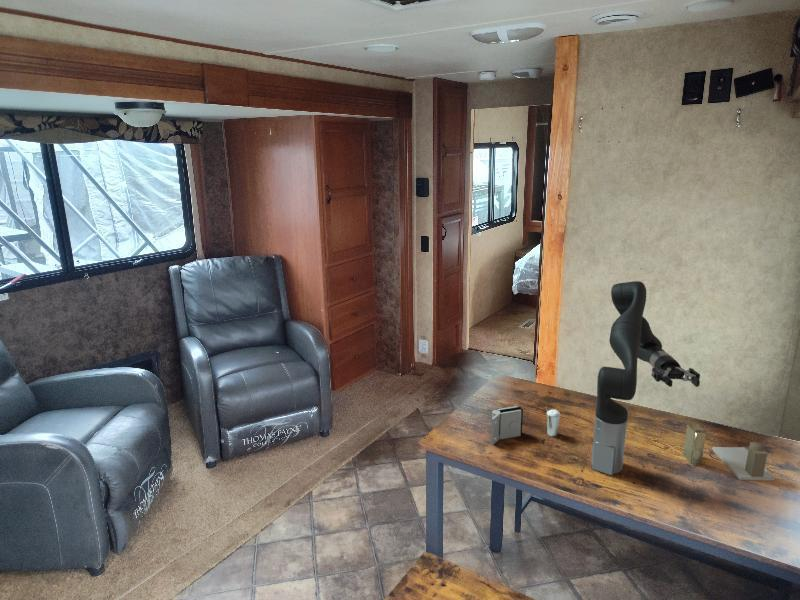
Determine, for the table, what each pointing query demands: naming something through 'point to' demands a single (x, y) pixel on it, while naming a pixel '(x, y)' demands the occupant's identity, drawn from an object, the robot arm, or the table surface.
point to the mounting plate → (745, 461)
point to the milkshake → (552, 422)
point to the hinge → (506, 423)
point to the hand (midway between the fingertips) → (684, 384)
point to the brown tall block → (694, 444)
